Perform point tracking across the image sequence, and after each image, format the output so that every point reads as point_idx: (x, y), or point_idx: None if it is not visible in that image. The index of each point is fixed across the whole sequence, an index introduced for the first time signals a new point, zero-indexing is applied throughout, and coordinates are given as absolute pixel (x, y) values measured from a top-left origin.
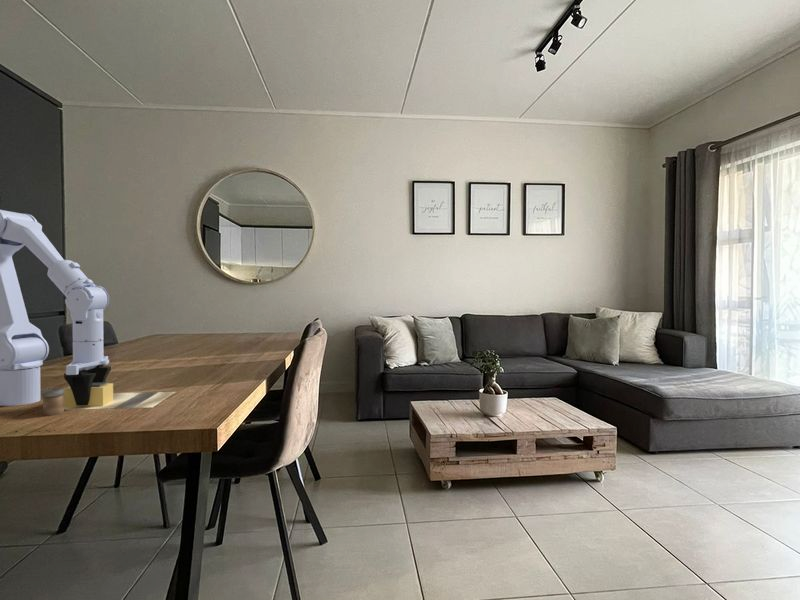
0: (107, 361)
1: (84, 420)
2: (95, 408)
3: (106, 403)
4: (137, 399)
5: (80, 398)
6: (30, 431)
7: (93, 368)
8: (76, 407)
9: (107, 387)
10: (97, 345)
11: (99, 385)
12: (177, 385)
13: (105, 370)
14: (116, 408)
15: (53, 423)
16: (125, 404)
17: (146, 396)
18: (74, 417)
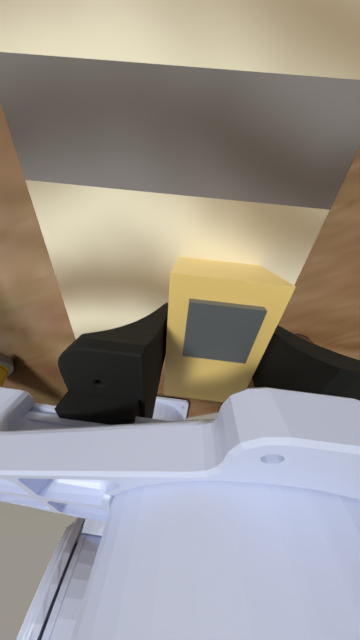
0: (352, 428)
1: (356, 278)
2: (291, 277)
3: (232, 262)
4: (173, 140)
5: None
6: None
7: (144, 416)
8: None
9: (238, 277)
10: None
11: (264, 312)
12: None
13: (146, 353)
14: (337, 191)
15: (337, 339)
16: (272, 171)
17: (104, 106)
18: (294, 315)
